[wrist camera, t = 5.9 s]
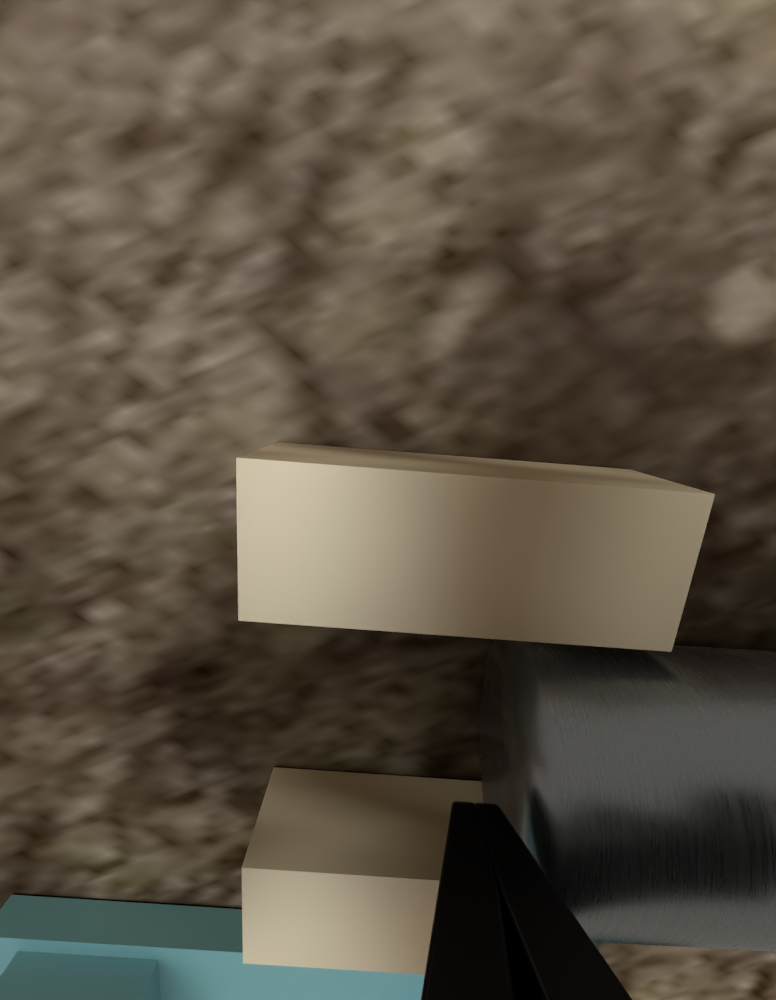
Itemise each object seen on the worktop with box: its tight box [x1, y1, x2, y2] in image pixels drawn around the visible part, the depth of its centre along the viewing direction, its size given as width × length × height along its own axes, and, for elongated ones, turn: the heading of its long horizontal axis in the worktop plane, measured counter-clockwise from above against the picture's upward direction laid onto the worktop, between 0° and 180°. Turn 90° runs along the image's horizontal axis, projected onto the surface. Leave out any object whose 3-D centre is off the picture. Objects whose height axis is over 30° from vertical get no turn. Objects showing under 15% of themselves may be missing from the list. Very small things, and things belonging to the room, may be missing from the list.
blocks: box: [236, 442, 715, 975], centre depth 9 cm, size 8×12×2 cm, turn 176°
